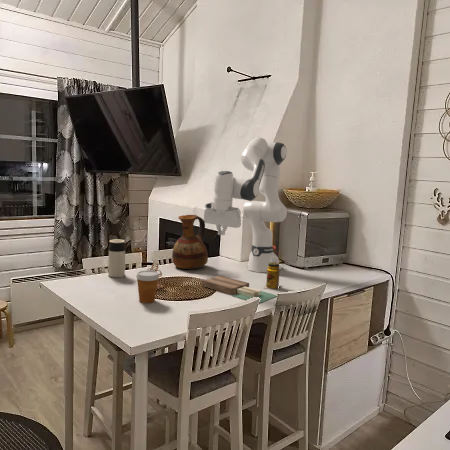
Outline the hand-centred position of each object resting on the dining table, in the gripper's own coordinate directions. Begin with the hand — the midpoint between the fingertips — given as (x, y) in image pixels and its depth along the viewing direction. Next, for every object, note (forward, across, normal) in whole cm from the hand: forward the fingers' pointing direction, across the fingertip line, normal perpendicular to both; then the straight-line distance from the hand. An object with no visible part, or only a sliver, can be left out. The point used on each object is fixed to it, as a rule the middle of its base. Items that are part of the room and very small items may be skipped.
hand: (221, 234), depth 200 cm
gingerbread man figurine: (+25, +17, +26) cm, 40 cm away
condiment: (+25, -19, -19) cm, 37 cm away
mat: (+25, -21, 0) cm, 33 cm away
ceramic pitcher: (+25, +35, -17) cm, 46 cm away
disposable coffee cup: (+25, +6, +40) cm, 48 cm away
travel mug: (+25, +46, +25) cm, 58 cm away
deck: (+25, -4, 0) cm, 25 cm away
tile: (+25, -18, 0) cm, 31 cm away
